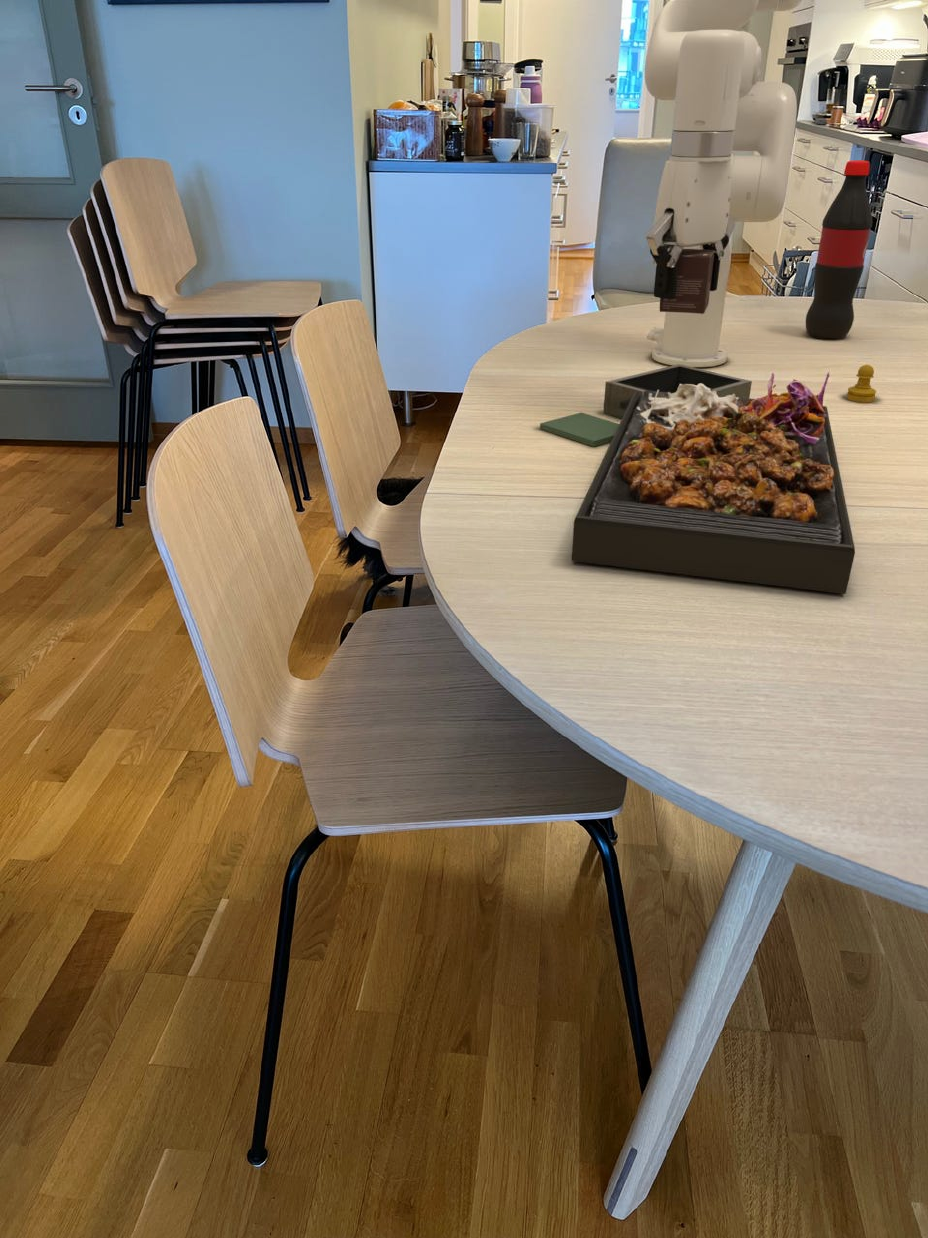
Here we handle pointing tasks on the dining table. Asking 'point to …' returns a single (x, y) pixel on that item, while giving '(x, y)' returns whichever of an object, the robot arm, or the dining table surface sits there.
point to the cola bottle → (841, 256)
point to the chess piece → (862, 386)
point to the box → (691, 282)
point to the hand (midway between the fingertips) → (685, 292)
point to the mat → (582, 428)
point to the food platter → (721, 490)
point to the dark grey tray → (669, 385)
